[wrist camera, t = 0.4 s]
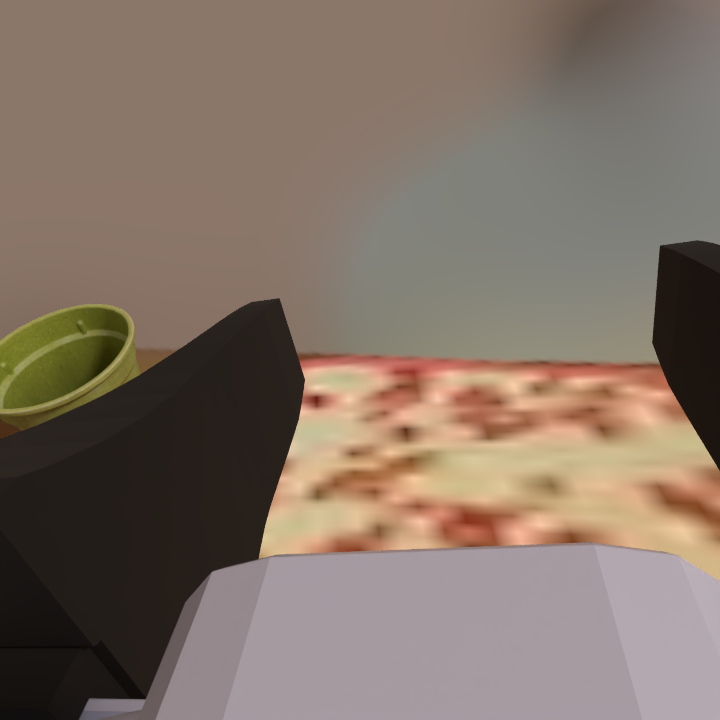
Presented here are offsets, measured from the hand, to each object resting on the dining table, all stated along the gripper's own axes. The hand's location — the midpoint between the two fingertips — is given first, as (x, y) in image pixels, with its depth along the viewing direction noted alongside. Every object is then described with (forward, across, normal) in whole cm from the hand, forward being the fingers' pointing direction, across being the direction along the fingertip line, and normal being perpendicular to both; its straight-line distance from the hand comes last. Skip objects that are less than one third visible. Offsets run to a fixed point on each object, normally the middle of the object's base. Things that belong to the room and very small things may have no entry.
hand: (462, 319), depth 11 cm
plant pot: (+17, +24, +16) cm, 34 cm away
